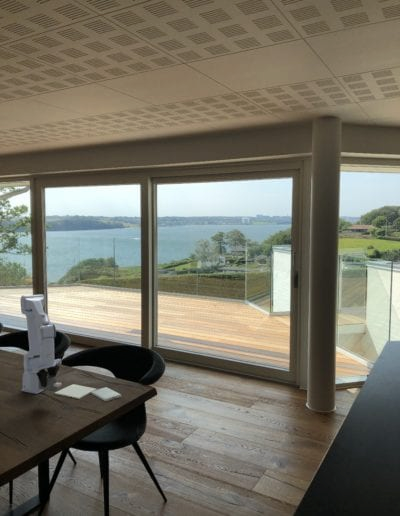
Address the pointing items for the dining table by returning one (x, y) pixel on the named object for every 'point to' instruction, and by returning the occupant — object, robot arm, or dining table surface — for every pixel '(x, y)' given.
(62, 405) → the dining table surface
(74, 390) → the rubber mat
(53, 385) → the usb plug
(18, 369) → the dining table surface
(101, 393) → the hard drive
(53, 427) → the dining table surface
